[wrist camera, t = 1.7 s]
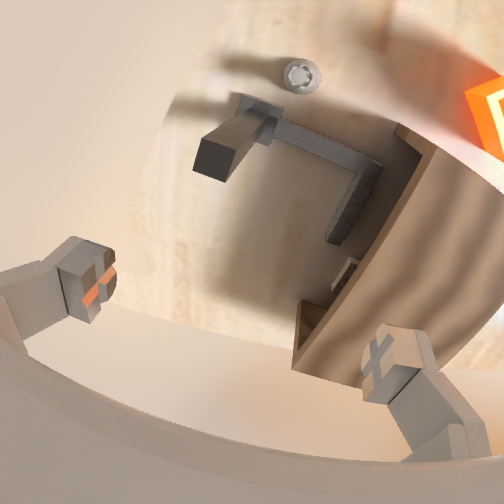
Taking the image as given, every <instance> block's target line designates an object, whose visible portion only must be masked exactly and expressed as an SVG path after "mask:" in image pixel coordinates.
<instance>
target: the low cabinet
mask: <svg viewBox="0 0 504 504" xmlns="http://www.w3.org/2000/svg"><path fill="white" fill-rule="evenodd" d="M394 133H395V134H396V135H397V136H399V137H400V138H401V139H403V140H404V141H405V142H407V143H408V144H409V145H410V146H412V147H413V148H414V149H415V150H417V151H418V152H419V153H420V154H422V155H423V156H422V158H421V160H420V162H419V164H418V166H417V168H416V169H415V171H414V173H413V175H412V177H411V179H410V181H409V182H408V184H407V186H406V188H405V189H404V191H403V193H402V195H401V197H400V198H399V200H398V202H397V204H396V205H395V207H394V209H393V210H392V212H391V214H390V215H389V217H388V219H387V221H386V222H385V224H384V225H383V227H382V229H381V230H380V232H379V234H378V235H377V237H376V239H375V240H374V242H373V243H372V245H371V247H370V248H369V250H368V251H367V253H366V254H365V256H364V258H363V259H362V261H361V262H360V264H359V265H358V267H357V268H356V270H355V271H354V273H353V274H352V276H351V277H350V279H349V280H348V282H347V283H346V285H345V286H344V288H343V289H342V291H341V292H340V294H339V295H338V297H337V298H336V300H335V301H334V302H333V304H332V305H331V307H330V308H329V310H328V309H325V308H322V307H320V306H317V305H314V304H311V303H309V302H306V301H303V300H301V301H300V303H299V304H298V306H297V317H296V328H295V339H294V349H293V359H292V368H291V369H292V370H295V371H298V372H301V373H305V374H308V375H311V376H315V377H318V378H322V379H326V380H329V381H332V382H336V383H340V384H343V385H347V386H351V387H355V388H359V389H363V387H362V383H363V381H364V380H365V379H366V377H365V375H364V374H363V373H362V371H361V361H362V356H363V353H364V350H365V348H366V346H367V345H368V343H369V342H370V341H372V340H374V339H376V331H377V329H378V327H379V326H380V325H381V324H382V323H386V324H390V325H395V326H399V327H404V328H408V329H416V330H421V331H425V332H426V333H427V334H428V336H429V339H430V343H431V346H432V349H433V353H434V356H435V360H436V363H437V367H438V371H439V370H440V369H441V368H442V367H443V366H444V365H446V364H447V363H448V362H449V361H450V360H451V359H452V358H453V357H454V356H455V355H456V354H457V353H458V352H459V351H460V350H461V349H462V348H463V347H464V346H465V345H466V344H467V343H468V342H469V341H470V340H471V339H472V338H473V337H474V336H475V335H476V334H477V333H478V332H479V331H480V329H481V328H482V327H483V326H484V325H485V324H486V323H487V322H488V321H489V320H490V318H491V317H492V316H493V315H494V314H495V313H496V311H497V310H498V309H499V308H500V307H501V306H502V304H503V303H504V194H502V193H501V192H500V191H499V190H497V189H496V188H495V187H494V186H492V185H491V184H490V183H489V182H487V181H486V180H485V179H483V178H482V177H481V176H480V175H478V174H477V173H476V172H474V171H473V170H471V169H470V168H469V167H467V166H466V165H465V164H463V163H462V162H460V161H459V160H457V159H456V158H455V157H453V156H452V155H450V154H449V153H447V152H446V151H444V150H443V149H441V148H440V147H438V146H436V145H435V144H433V143H432V142H430V141H429V140H427V139H425V138H424V137H422V136H421V135H419V134H417V133H416V132H414V131H412V130H410V129H409V128H407V127H405V126H404V125H402V124H400V123H399V124H398V126H397V128H396V130H395V132H394Z"/></svg>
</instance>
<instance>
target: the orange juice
mask: <svg viewBox="0 0 504 504" xmlns="http://www.w3.org/2000/svg"><path fill="white" fill-rule="evenodd" d="M464 93H465V96H466V98H467V101H468V103H469V106H470V108H471V111H472V114H473V117H474V119H475V122H476V125H477V128H478V131H479V134H480V137H481V140H482V143H483V147H484V150H485V151H486V152H487V153H489V154H491V155H492V156H494V157H496V158H497V159H499V160H500V161H502V162H504V76H501V77H499V78H496V79H494V80H491V81H489V82H486V83H484V84H482V85H479V86H477V87H474V88H472V89H470V90H467V91H465V92H464Z"/></svg>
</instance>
